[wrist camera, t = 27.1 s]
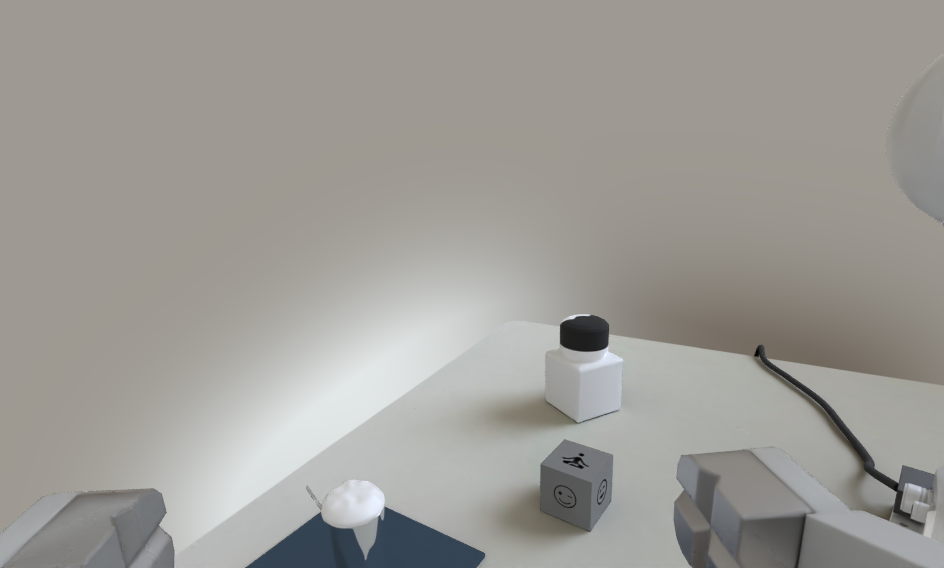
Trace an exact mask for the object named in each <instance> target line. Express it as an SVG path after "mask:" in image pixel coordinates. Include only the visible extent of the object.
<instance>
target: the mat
mask: <svg viewBox="0 0 944 568" xmlns="http://www.w3.org/2000/svg"><path fill="white" fill-rule="evenodd" d="M484 557H485V553H484V552H481V551H479V550H477V549H475V548H473V547H471V546H468V545H466V544H464V543H462V542H460V541H458V540H456V539H453V538H451V537H449V536H447V535H445V534H443V533H440V532H438V531H436V530H434V529H432V528H430V527H427V526H425V525H423V524H421V523H419V522H417V521H415V520H412V519H410V518H408V517H406V516H404V515H402V514H399V513H397V512H395V511H393V510H391V509H389V508H386V507H384V568H476V567H477V566H478V565H479V563H480V562H481V561H482V560H483V559H484ZM246 568H334V565H333V561H332V556H331V551H330V546H329V543H328V539H327V535H326V531H325V527H324V523H323V518H322V514H321V512H320V513H319V514H317V515H316V516H315V517H313V518H312V519H311V520H309V521H308V522H307V523H305V524H304V525H303V526H301V527H300V528H299V529H297V530H296V531H294V532H293V533H292V534H290V535H289V536H288V537H286V538H285V539H284V540H282V541H281V542H280V543H278V544H277V545H276V546H274V547H273V548H272V549H270V550H269V551H267V552H266V553H265V554H263V555H262V556H261V557H259V558H258V559H257V560H255V561H254V562H253V563H251V564H250V565H249V566H247V567H246Z"/></svg>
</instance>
